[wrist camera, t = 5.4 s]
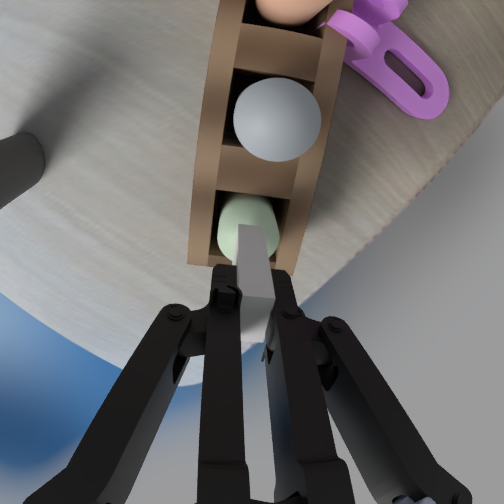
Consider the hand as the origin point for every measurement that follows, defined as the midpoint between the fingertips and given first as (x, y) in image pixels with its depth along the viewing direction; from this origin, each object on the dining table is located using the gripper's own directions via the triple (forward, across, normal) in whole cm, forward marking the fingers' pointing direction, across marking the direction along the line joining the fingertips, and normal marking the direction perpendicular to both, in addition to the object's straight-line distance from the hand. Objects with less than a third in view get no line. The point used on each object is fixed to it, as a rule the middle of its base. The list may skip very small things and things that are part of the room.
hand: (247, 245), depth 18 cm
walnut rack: (+9, 0, +8) cm, 12 cm away
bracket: (+9, +10, +14) cm, 20 cm away
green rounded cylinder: (+8, 0, 0) cm, 8 cm away
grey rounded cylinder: (+4, 0, +8) cm, 9 cm away
